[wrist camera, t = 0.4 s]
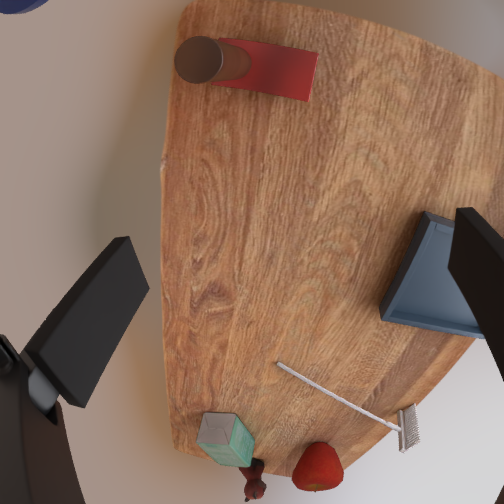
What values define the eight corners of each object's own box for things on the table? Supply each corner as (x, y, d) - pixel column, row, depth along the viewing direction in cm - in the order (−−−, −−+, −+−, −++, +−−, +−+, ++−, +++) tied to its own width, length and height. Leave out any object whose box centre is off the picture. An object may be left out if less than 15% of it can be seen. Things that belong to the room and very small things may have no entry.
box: (226, 439, 64) (219, 466, 58) (203, 411, 58) (193, 441, 52) (256, 441, 62) (250, 469, 56) (236, 412, 56) (229, 445, 50)
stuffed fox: (232, 451, 68) (222, 491, 58) (274, 460, 68) (267, 500, 58) (227, 458, 72) (217, 496, 62) (266, 467, 72) (259, 505, 62)
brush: (295, 331, 48) (283, 370, 39) (415, 403, 47) (420, 442, 38) (282, 345, 49) (268, 385, 41) (400, 414, 49) (403, 453, 40)
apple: (324, 456, 63) (320, 500, 53) (287, 446, 62) (279, 492, 52) (355, 441, 57) (353, 490, 47) (315, 430, 56) (310, 483, 46)
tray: (378, 307, 37) (380, 320, 35) (424, 210, 29) (430, 220, 27) (479, 328, 36) (484, 339, 34) (528, 250, 28) (536, 260, 26)
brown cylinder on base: (219, 83, 27) (166, 92, 17) (226, 40, 24) (176, 24, 14) (308, 99, 26) (307, 114, 16) (318, 55, 24) (322, 42, 14)
